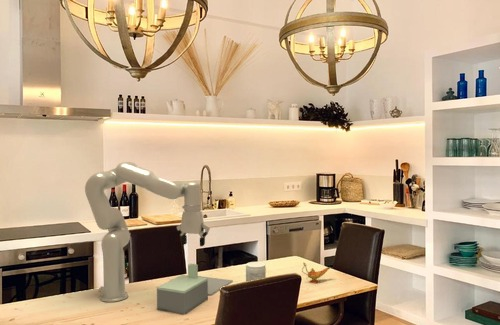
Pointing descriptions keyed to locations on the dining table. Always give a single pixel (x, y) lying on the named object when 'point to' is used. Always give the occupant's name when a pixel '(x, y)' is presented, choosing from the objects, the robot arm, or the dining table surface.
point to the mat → (216, 284)
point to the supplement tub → (255, 271)
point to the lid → (184, 281)
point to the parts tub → (182, 299)
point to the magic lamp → (315, 274)
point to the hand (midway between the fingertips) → (193, 245)
